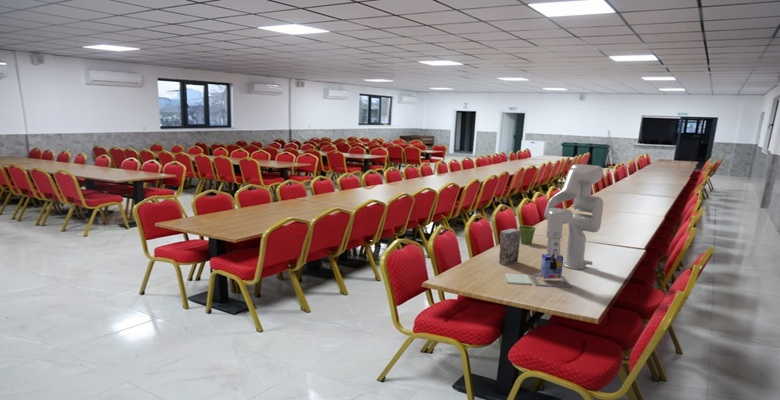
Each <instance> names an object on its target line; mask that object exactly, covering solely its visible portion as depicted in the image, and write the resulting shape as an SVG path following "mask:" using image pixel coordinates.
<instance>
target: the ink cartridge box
mask: <svg viewBox="0 0 780 400" xmlns="http://www.w3.org/2000/svg"><path fill="white" fill-rule="evenodd" d="M552 256H554V255H552ZM550 262H551V256H550V255H549V254H548V253H544V254H543V253H542V254H541V269H540V275H541V276H542V277H541V276H540V277H541V278H543V279H545V280H546V279H547V280H548V279H550V280H551V279H552V280H553V279H558V280H559V279H561V277H562V276H563V267H564V265H563V263H564V256H563V255H562V254H560V257H558V256H557V269H556V270H551V269H550ZM561 280H562V279H561Z"/></svg>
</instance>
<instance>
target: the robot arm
mask: <svg viewBox="0 0 780 400" xmlns="http://www.w3.org/2000/svg"><path fill="white" fill-rule="evenodd" d="M603 175H604V169H603V167H602V166H600V165H592V164H584V163H583V164H582V163H581V164H580V163H579V164H577V163H576V164H573V165H571V167H570V170H569V171H568V172H567V175H566V177H565V180H564V183H563V185H562V188H561V190H560V191H558V192H557V193H555V195H553V196H552V197H551V198H550V199H549V200H548V201H547V204H546V207H545V210H544V214H543V215H544V219H545V220H547V226H546V227H547V228H546V238H548V239H547V246H546V247H547V249H546V250H547V251H546V252H547V254H549V255H550V256H551V262H550V269H551V270H556V269H557V256H558V257H560V255H561V239H562V238H563V226H564V225H565V224H567V225H568V235H567V236H568V238H567V239H568V240H567V247H566V248H567V249H566V250H567V251H566V258H565V259H566V260H565V261H563V267H566V268H568V269H572V270H585V269H586V268H587V265H591V266H592V265H593V261H589V260H585V252H586V242H587V238H586V234H585V233H584V232H589V233H598V232H599V231H600V229H601V224H602V217H603V211H604V200H603V199H602V198H601V197H599V196H594V195H591V193H592V186H593V185H595V184H596V183H598V182H599V181H601V180H602V178H603ZM569 200H573V203H572V204H573V205H572V207H573V209H574V210H575V211H579V212H580V213H579V212H572V211H571V210H570V209H567V208H561V207H560V208H559V207H556V206H557V205H558V204H560V203H562V202H566V201H569ZM581 212H584V213H581ZM585 213H589V214H585ZM590 213H591V214H592V215H591V214H590ZM552 255H554V256H552Z"/></svg>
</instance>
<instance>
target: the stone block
mask: <svg viewBox="0 0 780 400" xmlns="http://www.w3.org/2000/svg"><path fill="white" fill-rule="evenodd" d="M520 235H521V232H520V230H519V229H517V228H508V229H504V230H501V231H500V232H499V256H498V257H499V260H498V261H499V262H498V263H499V264H501V265H503V266H509V265H511V264H515V263H518V262H519V261H518V260H519V255H520V254H519V253H520V244H521V239H520Z"/></svg>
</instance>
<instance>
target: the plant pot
mask: <svg viewBox="0 0 780 400" xmlns="http://www.w3.org/2000/svg"><path fill="white" fill-rule="evenodd" d="M536 229H537V227H535V226H531V225H519V226H518V230H520V232H521V235H520V244H523V245H532V243H533V240H534V236H535V235H534V234H535V232H536Z"/></svg>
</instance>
